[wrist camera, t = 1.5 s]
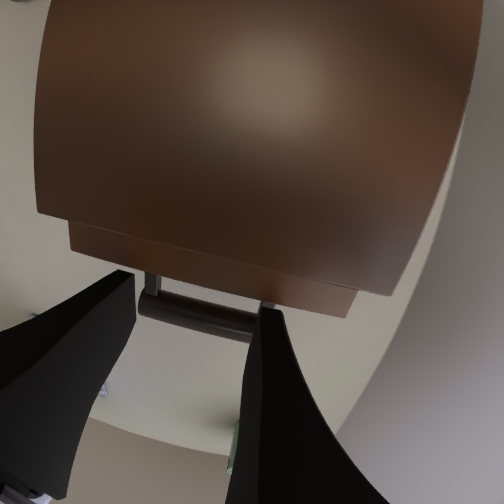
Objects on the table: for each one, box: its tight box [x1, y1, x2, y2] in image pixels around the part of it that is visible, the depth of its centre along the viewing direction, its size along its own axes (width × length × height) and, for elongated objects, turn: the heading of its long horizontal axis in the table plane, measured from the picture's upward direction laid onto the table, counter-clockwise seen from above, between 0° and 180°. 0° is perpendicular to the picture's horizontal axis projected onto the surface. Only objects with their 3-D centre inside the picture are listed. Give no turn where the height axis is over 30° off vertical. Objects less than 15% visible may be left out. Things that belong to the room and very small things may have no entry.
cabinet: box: [34, 0, 484, 296], centre depth 8 cm, size 14×11×9 cm
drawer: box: [68, 221, 359, 344], centre depth 10 cm, size 17×9×7 cm, turn 168°
